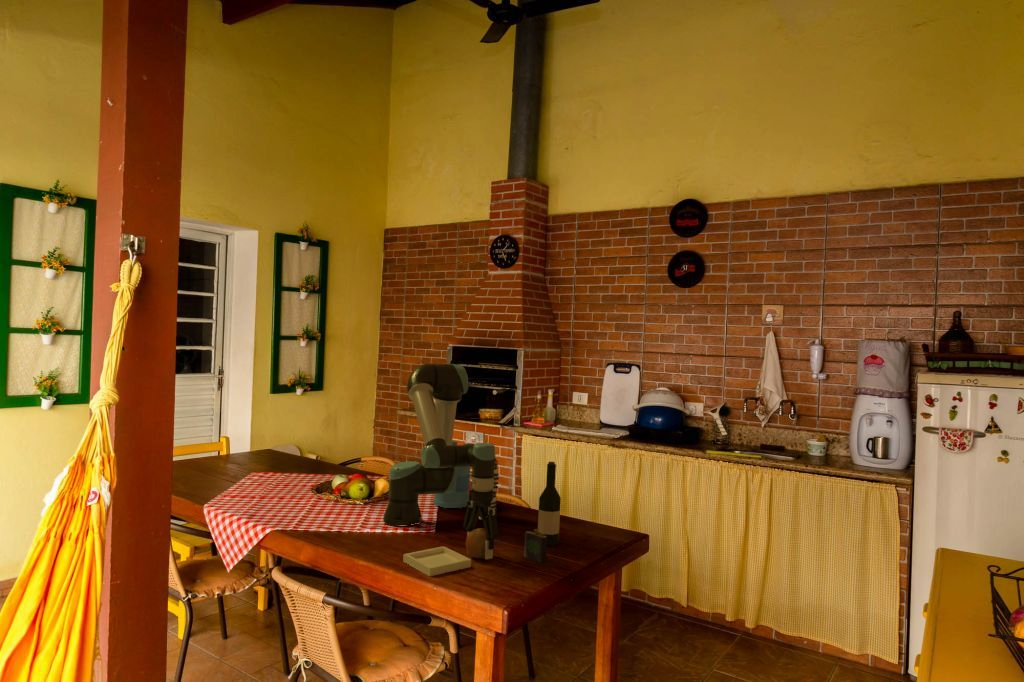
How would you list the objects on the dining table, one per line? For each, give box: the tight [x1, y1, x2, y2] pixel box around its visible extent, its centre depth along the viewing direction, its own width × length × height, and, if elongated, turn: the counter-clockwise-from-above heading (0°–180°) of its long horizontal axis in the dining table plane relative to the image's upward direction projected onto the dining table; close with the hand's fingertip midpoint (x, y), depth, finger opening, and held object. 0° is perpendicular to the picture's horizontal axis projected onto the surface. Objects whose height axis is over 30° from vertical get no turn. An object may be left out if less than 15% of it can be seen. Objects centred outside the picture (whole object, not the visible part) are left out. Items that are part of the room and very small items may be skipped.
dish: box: [402, 545, 472, 577], centre depth 226 cm, size 16×16×2 cm
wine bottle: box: [537, 461, 562, 546], centre depth 255 cm, size 8×8×30 cm
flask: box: [523, 528, 547, 564], centre depth 236 cm, size 9×3×11 cm, turn 48°
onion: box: [465, 527, 491, 559], centre depth 235 cm, size 10×10×10 cm
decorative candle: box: [478, 457, 500, 520], centre depth 286 cm, size 9×9×25 cm
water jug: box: [433, 440, 472, 509], centre depth 304 cm, size 16×16×28 cm
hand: (479, 554), depth 235 cm, fingers closed on onion, 10 cm apart
